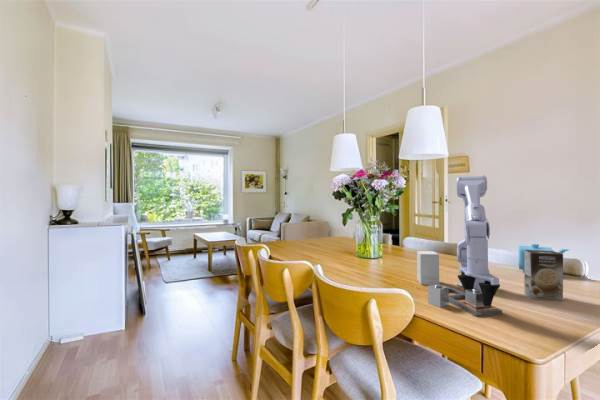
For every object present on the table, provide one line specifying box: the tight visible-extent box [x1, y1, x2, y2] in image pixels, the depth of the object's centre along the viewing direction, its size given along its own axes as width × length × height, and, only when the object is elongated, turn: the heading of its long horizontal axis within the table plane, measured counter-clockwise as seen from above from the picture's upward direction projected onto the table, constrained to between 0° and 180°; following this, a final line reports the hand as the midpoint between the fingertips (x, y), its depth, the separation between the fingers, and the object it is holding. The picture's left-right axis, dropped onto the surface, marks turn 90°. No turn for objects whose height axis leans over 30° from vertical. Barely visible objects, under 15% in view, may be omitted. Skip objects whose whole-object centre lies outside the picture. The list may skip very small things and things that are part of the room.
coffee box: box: [523, 250, 564, 302], centre depth 103 cm, size 9×6×16 cm
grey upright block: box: [427, 283, 450, 309], centre depth 99 cm, size 4×4×6 cm
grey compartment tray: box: [449, 286, 503, 317], centre depth 100 cm, size 9×23×2 cm, turn 9°
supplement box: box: [416, 250, 440, 286], centre depth 123 cm, size 7×7×13 cm
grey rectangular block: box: [464, 288, 489, 309], centre depth 93 cm, size 4×4×6 cm
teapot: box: [517, 243, 569, 274], centre depth 135 cm, size 18×16×13 cm
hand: (477, 301), depth 93 cm, fingers open, 7 cm apart
